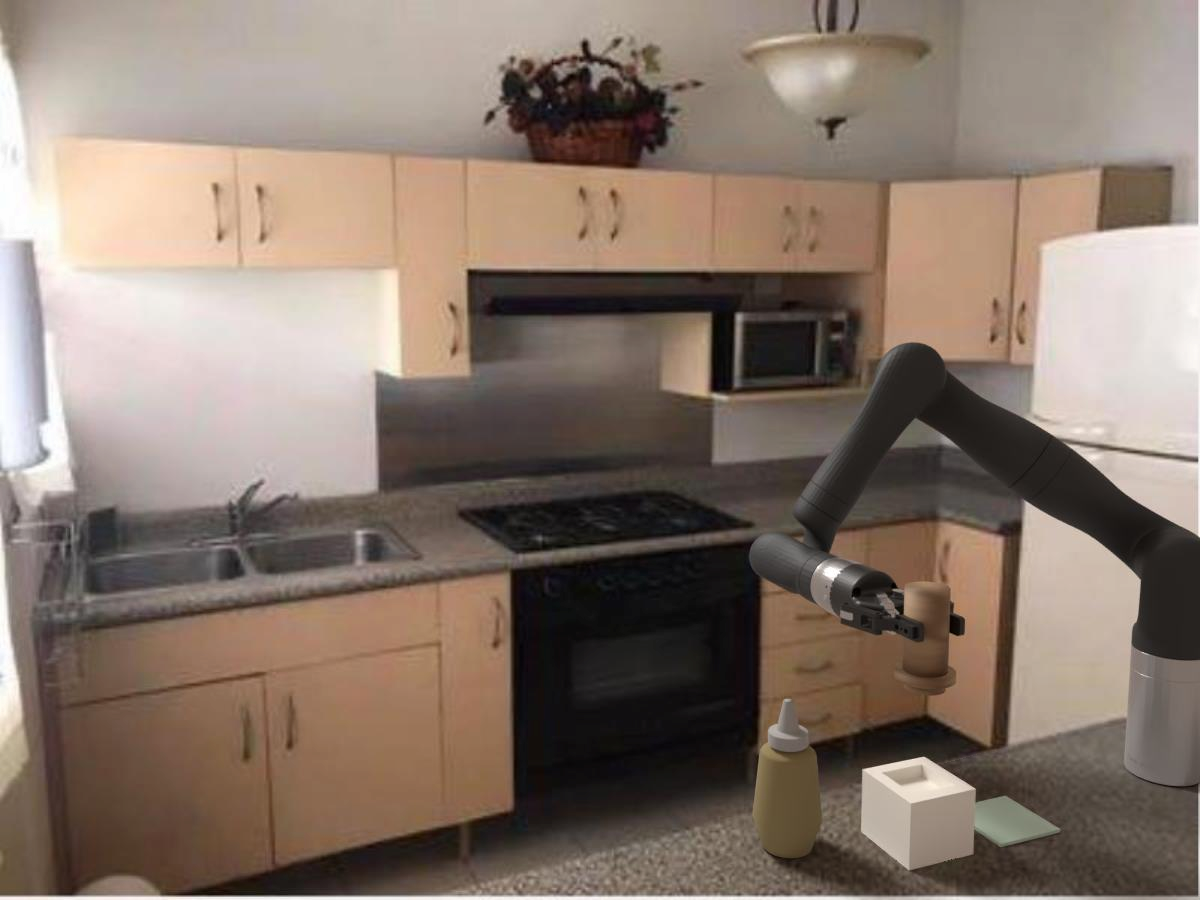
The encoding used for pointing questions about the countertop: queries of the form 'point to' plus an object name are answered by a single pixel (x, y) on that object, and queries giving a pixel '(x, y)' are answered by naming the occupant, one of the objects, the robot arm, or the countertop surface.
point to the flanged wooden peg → (927, 640)
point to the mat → (1009, 822)
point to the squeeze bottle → (787, 789)
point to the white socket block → (918, 812)
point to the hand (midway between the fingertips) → (942, 630)
